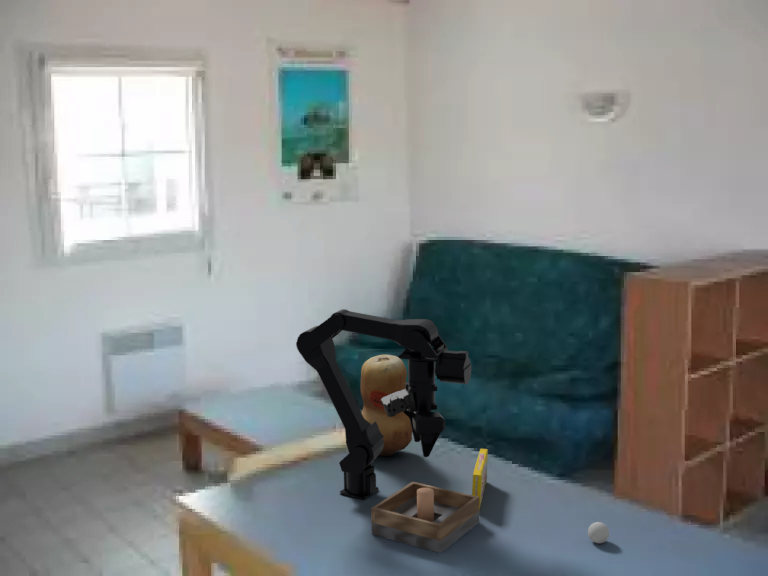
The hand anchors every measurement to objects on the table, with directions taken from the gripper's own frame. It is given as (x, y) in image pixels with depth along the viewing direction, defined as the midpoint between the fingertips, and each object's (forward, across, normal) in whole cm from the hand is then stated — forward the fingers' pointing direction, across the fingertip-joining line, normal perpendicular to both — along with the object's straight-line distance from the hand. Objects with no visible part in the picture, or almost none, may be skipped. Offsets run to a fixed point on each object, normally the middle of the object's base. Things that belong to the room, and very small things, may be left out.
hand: (421, 449), depth 197 cm
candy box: (+12, 0, +13) cm, 18 cm away
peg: (+12, +13, -2) cm, 18 cm away
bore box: (+12, +13, -2) cm, 18 cm away
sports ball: (+12, +26, +30) cm, 41 cm away
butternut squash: (+12, -30, -3) cm, 32 cm away
